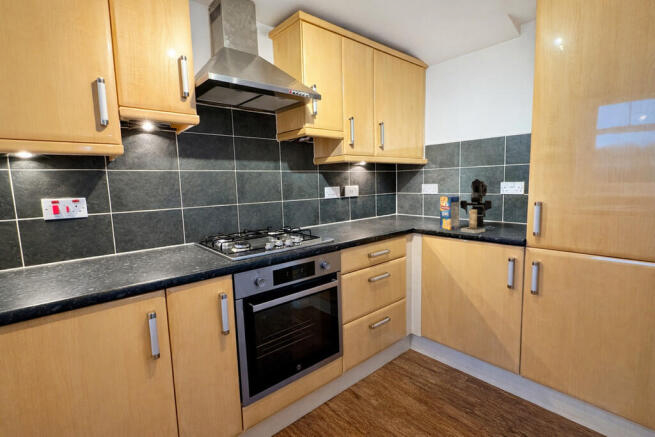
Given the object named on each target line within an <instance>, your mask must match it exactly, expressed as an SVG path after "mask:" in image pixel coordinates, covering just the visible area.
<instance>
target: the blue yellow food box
mask: <svg viewBox="0 0 655 437" xmlns="http://www.w3.org/2000/svg"><path fill="white" fill-rule="evenodd" d="M439 197H440V199H439V200H440V202H439V204H440V205H439V210H440V211H439V214H440V216H439V228H440V229H443V228H444V230H447V229H448V231H454V230H456V231H457V230H460V201H461V198H460V197H461V196H459V195H458V196H457V195H456V196H455V195H442V196H441V195H440V196H439Z"/></svg>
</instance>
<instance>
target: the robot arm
mask: <svg viewBox="0 0 655 437" xmlns="http://www.w3.org/2000/svg"><path fill="white" fill-rule="evenodd" d="M470 188H471V190H472V192H471V194H470V195H471V196H470V201H469V202H468V200H467V199H466V200H461V199H460V204H459V207H460V209H462V210H464V211H465V214H466V215H468V206H471V208H470V209H476V210H477V227H481V226H482V227H483V226H485V224H484V221H485V220H484V218H486V212H487V211H488V210H491V209H492V207H493V202H492V200H484V197H486V195H487V193H488V186H487V184H486V183H485V180H480V179H479V178H475V179H474V180H472V182H471V184H470ZM483 200H484V202H483Z"/></svg>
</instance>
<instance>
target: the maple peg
mask: <svg viewBox="0 0 655 437" xmlns="http://www.w3.org/2000/svg"><path fill="white" fill-rule="evenodd" d="M468 214H469V216H468V218H469V219H468V221H469V222H468V227H469V229H477V228H478V226H477V210H476V209H471V208H470V209H469V213H468Z"/></svg>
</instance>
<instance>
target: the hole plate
mask: <svg viewBox="0 0 655 437" xmlns="http://www.w3.org/2000/svg"><path fill="white" fill-rule="evenodd" d="M460 232H461V233H469V234H480V233H485V232H486V228H484V227H483V228H482V227H477V229H469V226H468V227H461V228H460Z"/></svg>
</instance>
